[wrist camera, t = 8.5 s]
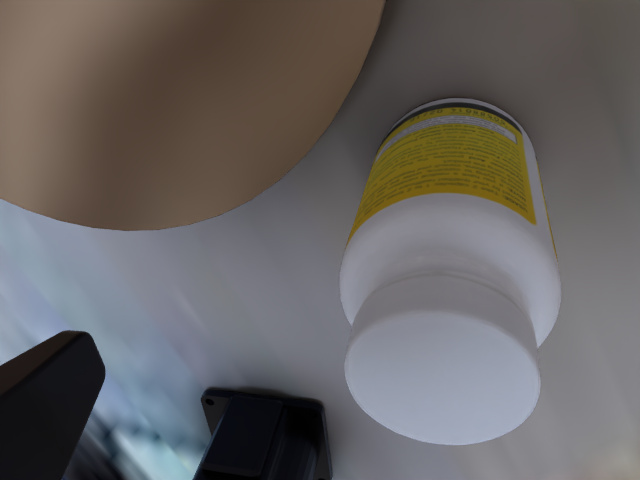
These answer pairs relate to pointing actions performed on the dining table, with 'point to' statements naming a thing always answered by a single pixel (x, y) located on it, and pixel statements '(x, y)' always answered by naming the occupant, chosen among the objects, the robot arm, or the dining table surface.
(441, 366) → the supplement bottle
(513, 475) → the dining table surface
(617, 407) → the dining table surface
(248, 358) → the dining table surface
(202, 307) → the dining table surface
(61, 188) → the turntable
